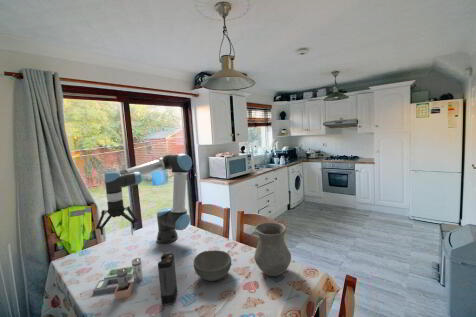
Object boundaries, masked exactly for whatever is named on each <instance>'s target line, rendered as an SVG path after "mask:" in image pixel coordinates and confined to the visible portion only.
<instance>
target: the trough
mask: <svg viewBox="0 0 476 317" xmlns="http://www.w3.org/2000/svg"><path fill="white" fill-rule="evenodd" d="M121 268H127V275H128V279H132V278H134V277H133V268H132V265H128V266H121V267H115V268H109V270H108V271H107V273H106V274H105V276H103V280H105V279H111V278H117V271H118V270H119V269H121Z"/></svg>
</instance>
